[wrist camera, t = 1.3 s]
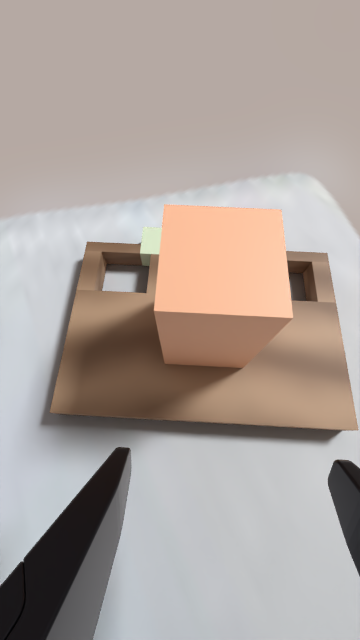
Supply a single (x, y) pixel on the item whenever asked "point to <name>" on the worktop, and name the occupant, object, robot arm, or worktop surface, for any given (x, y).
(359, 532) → the robot arm
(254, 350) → the terracotta block
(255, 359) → the walnut board
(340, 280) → the worktop surface
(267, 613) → the worktop surface
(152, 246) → the green end pad
